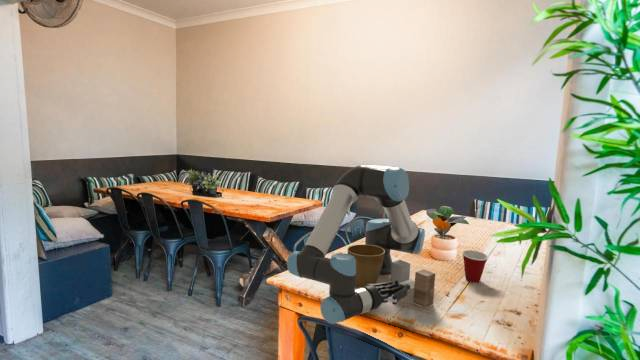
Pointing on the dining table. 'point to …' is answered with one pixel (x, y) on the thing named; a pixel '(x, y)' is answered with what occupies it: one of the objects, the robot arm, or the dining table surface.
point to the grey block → (400, 271)
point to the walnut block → (424, 288)
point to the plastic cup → (474, 265)
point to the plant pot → (367, 263)
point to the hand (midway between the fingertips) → (412, 283)
